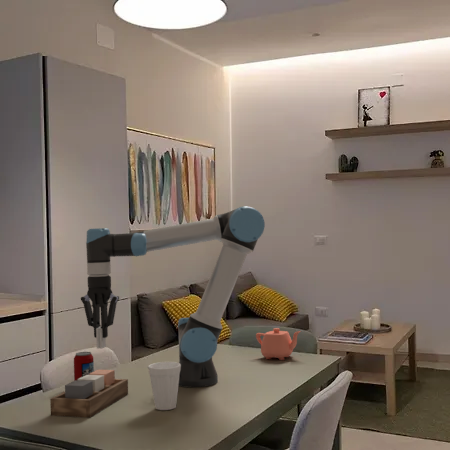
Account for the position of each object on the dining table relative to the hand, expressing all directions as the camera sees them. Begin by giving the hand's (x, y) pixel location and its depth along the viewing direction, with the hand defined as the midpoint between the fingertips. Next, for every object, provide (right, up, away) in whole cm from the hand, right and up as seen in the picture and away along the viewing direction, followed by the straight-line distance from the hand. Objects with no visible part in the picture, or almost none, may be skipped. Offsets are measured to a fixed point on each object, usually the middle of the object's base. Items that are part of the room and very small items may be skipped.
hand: (101, 347), depth 201 cm
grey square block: (-4, -12, -15) cm, 19 cm away
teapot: (+63, -15, +54) cm, 84 cm away
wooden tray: (-2, -16, -7) cm, 18 cm away
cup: (+23, -16, -14) cm, 31 cm away
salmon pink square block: (0, -12, 0) cm, 12 cm away
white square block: (-2, -12, -7) cm, 14 cm away
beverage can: (-9, -17, +14) cm, 24 cm away
